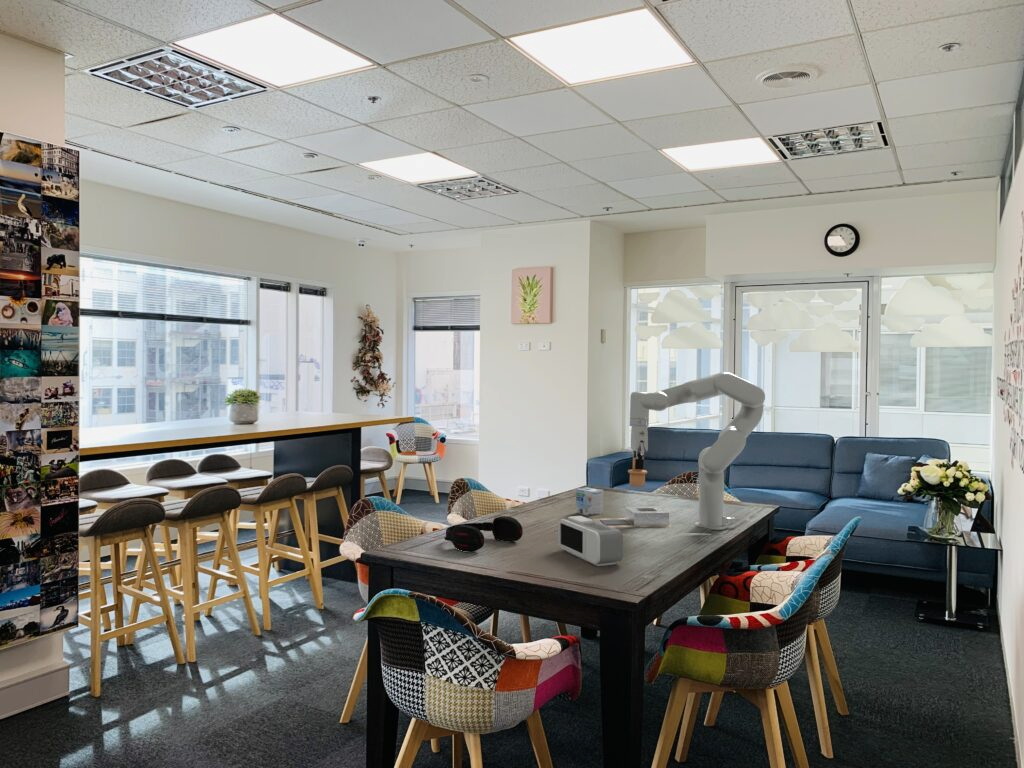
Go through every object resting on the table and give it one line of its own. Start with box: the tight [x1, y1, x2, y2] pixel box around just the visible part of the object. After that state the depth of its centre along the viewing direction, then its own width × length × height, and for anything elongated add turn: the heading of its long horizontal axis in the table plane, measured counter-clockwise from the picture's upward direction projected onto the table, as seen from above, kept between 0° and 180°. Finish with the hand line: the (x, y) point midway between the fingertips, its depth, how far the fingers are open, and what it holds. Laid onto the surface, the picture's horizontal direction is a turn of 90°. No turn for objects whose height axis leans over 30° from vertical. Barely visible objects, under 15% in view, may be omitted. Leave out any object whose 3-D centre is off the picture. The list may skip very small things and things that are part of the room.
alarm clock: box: [557, 515, 624, 567], centre depth 255 cm, size 27×9×12 cm, turn 23°
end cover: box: [627, 457, 648, 488], centre depth 310 cm, size 8×8×11 cm
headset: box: [444, 515, 524, 553], centre depth 272 cm, size 28×26×9 cm
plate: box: [592, 506, 674, 529], centre depth 310 cm, size 28×18×6 cm, turn 96°
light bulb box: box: [575, 486, 604, 517], centre depth 333 cm, size 11×7×11 cm, turn 37°
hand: (637, 468), depth 310 cm, fingers closed on end cover, 4 cm apart
